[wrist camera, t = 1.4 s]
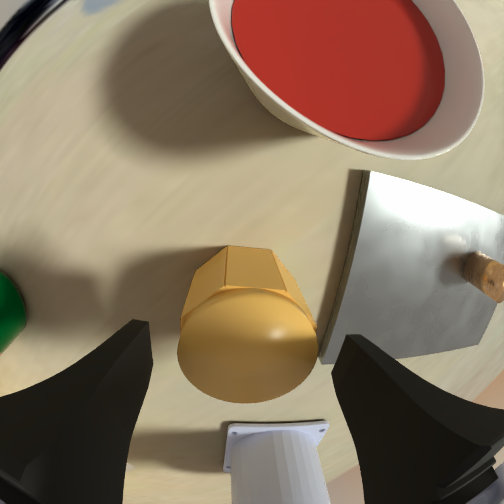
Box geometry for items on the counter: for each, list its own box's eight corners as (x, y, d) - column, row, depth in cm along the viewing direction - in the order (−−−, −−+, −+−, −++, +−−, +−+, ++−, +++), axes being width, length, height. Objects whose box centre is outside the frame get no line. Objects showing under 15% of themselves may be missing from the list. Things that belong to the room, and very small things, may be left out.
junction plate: (473, 339, 17) (498, 364, 13) (318, 356, 15) (336, 403, 12) (515, 221, 13) (549, 236, 10) (363, 169, 12) (410, 177, 8)
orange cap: (283, 336, 15) (300, 403, 10) (193, 329, 14) (180, 397, 10) (300, 252, 13) (334, 303, 8) (196, 242, 13) (175, 291, 8)
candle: (183, 100, 10) (137, 50, 5) (275, -24, 8) (297, -99, 2) (352, 191, 12) (436, 223, 6) (416, 63, 10) (495, 37, 4)
